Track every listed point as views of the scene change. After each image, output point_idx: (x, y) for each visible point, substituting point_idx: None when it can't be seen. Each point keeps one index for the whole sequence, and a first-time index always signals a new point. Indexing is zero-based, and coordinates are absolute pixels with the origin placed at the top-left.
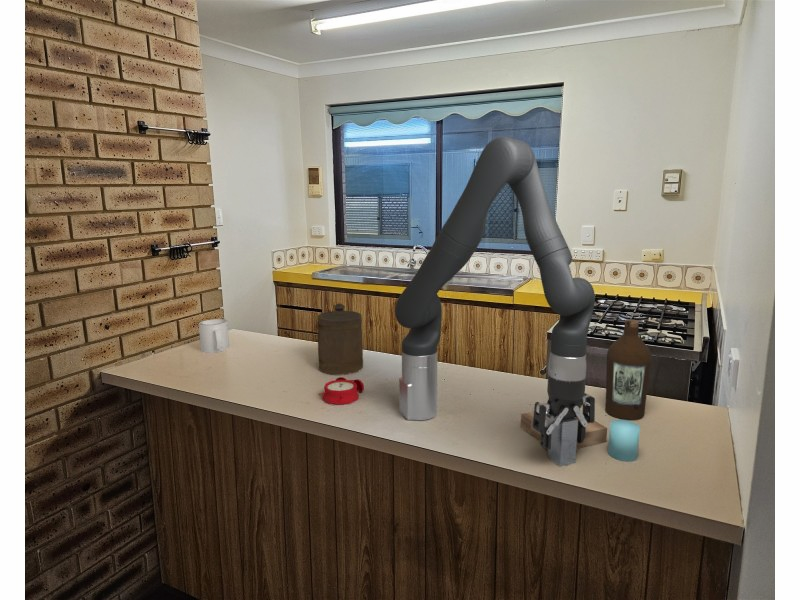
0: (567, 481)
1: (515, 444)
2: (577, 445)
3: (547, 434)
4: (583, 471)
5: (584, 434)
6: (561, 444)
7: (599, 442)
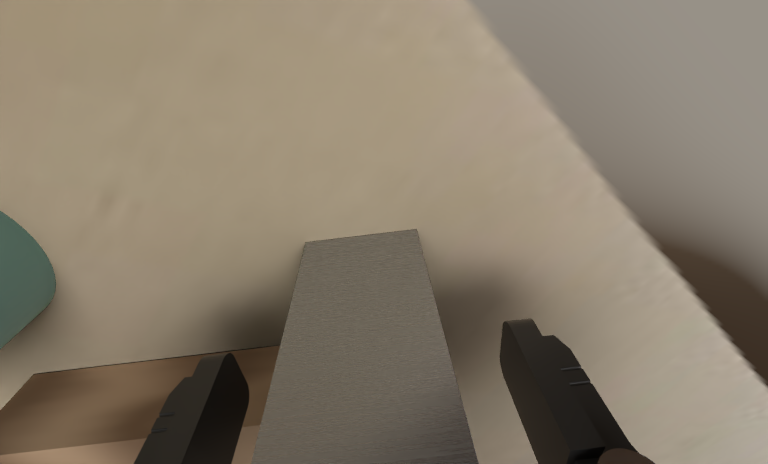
0: (485, 60)
1: (488, 413)
2: None
3: (601, 451)
4: (304, 148)
5: (162, 419)
6: (444, 338)
7: (75, 374)
